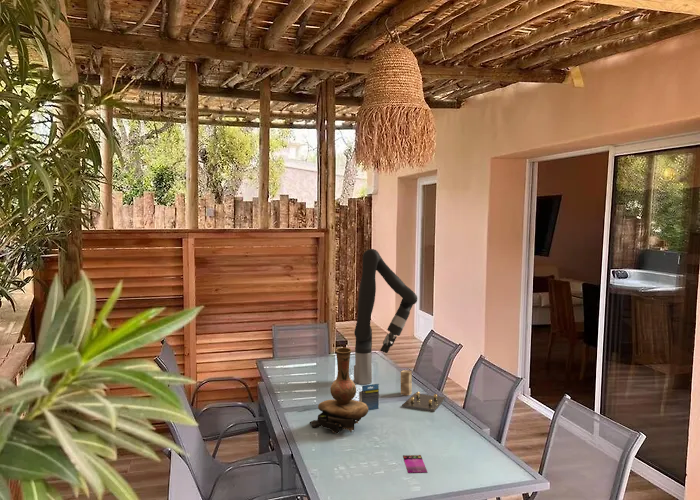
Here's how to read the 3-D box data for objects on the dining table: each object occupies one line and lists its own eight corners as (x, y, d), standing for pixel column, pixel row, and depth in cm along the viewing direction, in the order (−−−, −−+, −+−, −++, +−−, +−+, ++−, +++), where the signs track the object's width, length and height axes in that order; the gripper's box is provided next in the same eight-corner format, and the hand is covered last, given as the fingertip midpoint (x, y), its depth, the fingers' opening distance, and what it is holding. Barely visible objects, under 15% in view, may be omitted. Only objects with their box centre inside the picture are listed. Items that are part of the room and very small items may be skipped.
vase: (318, 439, 227) (317, 355, 226) (307, 420, 249) (307, 344, 247) (372, 433, 234) (372, 351, 232) (357, 415, 255) (357, 341, 253)
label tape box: (375, 406, 268) (375, 381, 267) (379, 408, 264) (379, 383, 264) (358, 408, 265) (358, 383, 264) (362, 411, 261) (362, 385, 260)
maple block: (400, 394, 286) (400, 371, 285) (403, 392, 290) (403, 369, 289) (408, 395, 284) (408, 372, 283) (411, 393, 288) (411, 370, 288)
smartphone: (421, 457, 211) (421, 454, 211) (427, 473, 196) (427, 471, 196) (402, 457, 210) (402, 455, 210) (407, 474, 195) (407, 471, 195)
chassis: (402, 407, 266) (402, 399, 266) (414, 395, 284) (414, 388, 284) (434, 411, 259) (434, 404, 259) (445, 399, 277) (445, 392, 277)
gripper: (388, 322, 307) (374, 348, 304) (393, 322, 293) (380, 349, 290) (399, 328, 308) (386, 354, 305) (406, 328, 294) (392, 356, 291)
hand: (383, 352), depth 298 cm, fingers open, 8 cm apart
